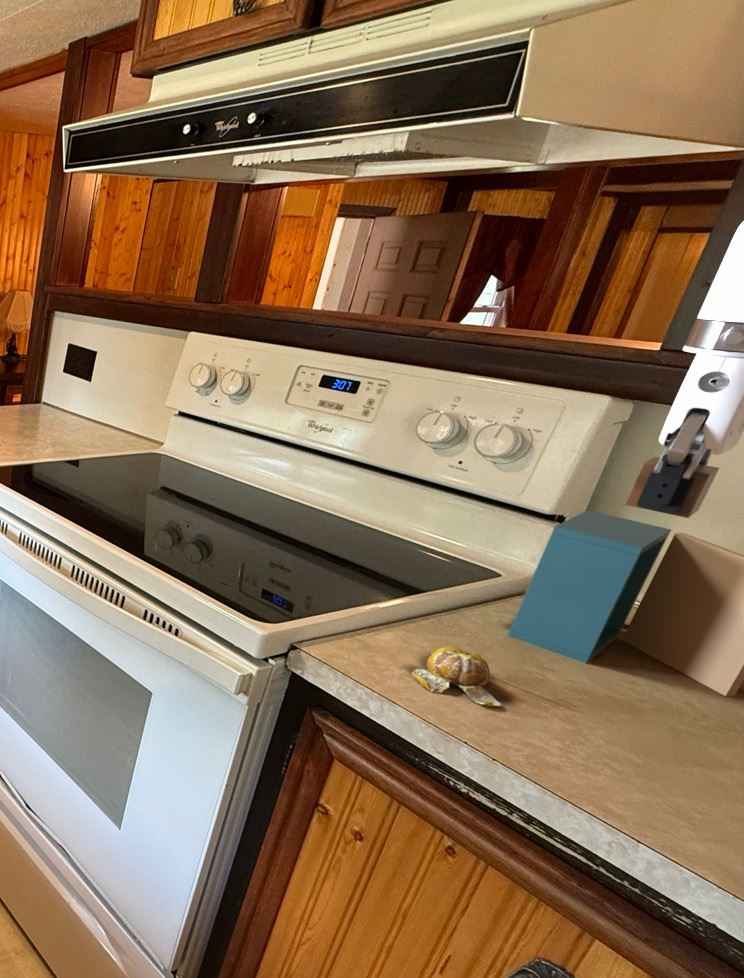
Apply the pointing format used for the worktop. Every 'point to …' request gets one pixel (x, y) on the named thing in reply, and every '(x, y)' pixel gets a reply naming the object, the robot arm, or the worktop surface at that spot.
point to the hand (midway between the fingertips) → (663, 504)
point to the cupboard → (587, 584)
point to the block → (694, 496)
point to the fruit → (457, 674)
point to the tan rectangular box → (695, 614)
